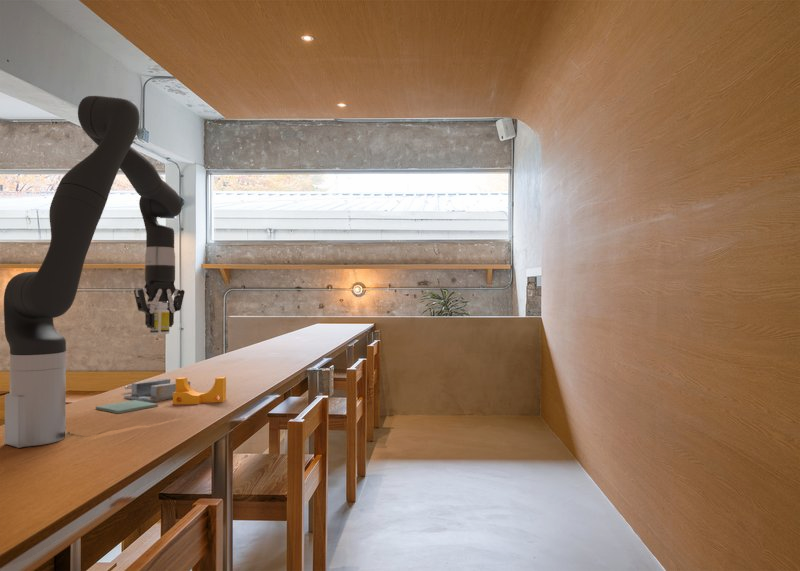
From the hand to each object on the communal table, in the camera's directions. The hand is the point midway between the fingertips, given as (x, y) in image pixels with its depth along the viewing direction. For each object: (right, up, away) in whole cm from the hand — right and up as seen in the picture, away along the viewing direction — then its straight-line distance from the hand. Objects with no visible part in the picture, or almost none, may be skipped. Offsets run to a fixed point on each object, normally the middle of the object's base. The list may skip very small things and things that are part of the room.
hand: (159, 327), depth 150 cm
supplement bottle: (0, -2, 0) cm, 2 cm away
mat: (-2, -19, -14) cm, 24 cm away
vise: (-2, -19, +2) cm, 19 cm away
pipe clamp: (+14, -19, -9) cm, 25 cm away
